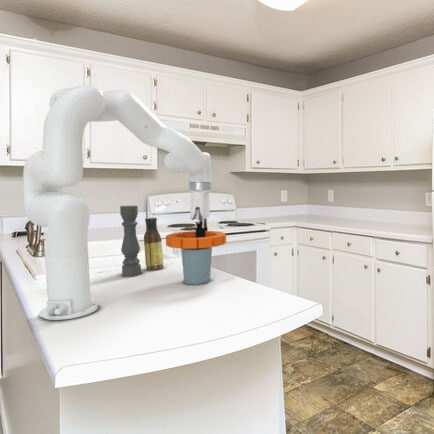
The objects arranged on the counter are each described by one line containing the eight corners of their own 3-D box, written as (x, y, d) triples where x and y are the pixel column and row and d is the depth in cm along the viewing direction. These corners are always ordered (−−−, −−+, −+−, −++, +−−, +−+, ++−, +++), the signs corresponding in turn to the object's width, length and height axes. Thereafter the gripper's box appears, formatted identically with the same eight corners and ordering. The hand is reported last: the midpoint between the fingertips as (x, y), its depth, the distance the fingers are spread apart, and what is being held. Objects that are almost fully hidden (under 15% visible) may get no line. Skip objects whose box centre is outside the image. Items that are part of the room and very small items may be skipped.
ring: (220, 248, 129) (220, 239, 129) (158, 248, 128) (158, 239, 127) (229, 238, 148) (229, 230, 148) (176, 239, 147) (175, 231, 146)
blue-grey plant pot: (198, 276, 146) (197, 243, 145) (219, 280, 141) (218, 246, 140) (175, 282, 137) (174, 247, 136) (196, 286, 132) (195, 250, 131)
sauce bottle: (165, 266, 160) (164, 216, 158) (159, 270, 154) (157, 218, 152) (149, 266, 161) (147, 216, 158) (142, 270, 154) (139, 218, 152)
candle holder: (133, 277, 144) (130, 207, 142) (118, 276, 146) (115, 206, 143) (144, 273, 150) (142, 205, 148) (130, 272, 152) (127, 205, 149)
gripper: (195, 186, 152) (196, 235, 154) (183, 188, 135) (185, 242, 137) (215, 186, 152) (216, 235, 154) (206, 188, 136) (207, 242, 138)
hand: (201, 238), depth 146 cm, fingers closed on ring, 3 cm apart
